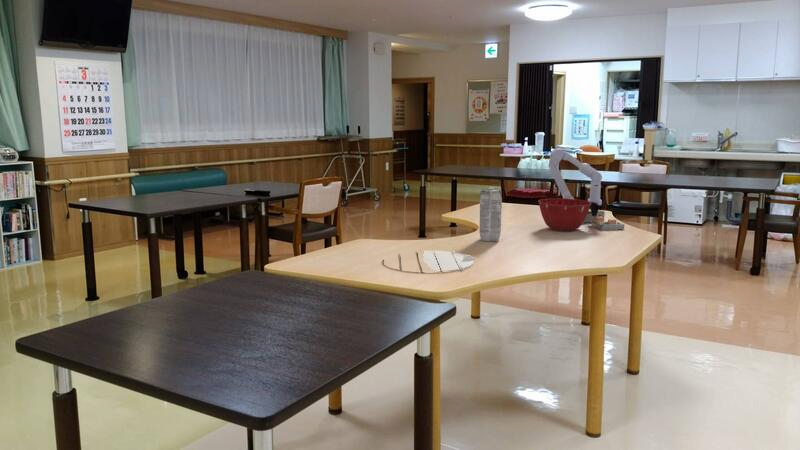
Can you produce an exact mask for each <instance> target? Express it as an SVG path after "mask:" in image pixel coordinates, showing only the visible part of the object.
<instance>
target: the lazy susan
mask: <svg viewBox="0 0 800 450" xmlns="http://www.w3.org/2000/svg"><path fill="white" fill-rule="evenodd" d="M423 251H424V254H423V256H424V258H423V260H424V263H426V264H427V265H428V267H430V268H431V269H434V270H436V271H438V272H439V271H441V270H442V271H456V270H461V271H465V270H468V269H470V268H471V266H472V267H473V266H474V264H475V261H476V259H475V257H473V256H472V255H470V254H464V253H458V252H455V250H452V251H445V250H423ZM434 253H435V255H434ZM435 256H436V257H435ZM436 258H437V260H436ZM423 260H422V261H423ZM455 260H456V261H455ZM437 261H438V262H437ZM456 262H457V263H456ZM438 263H439V265H438ZM457 264H458V265H457ZM439 266H440V267H439ZM458 266H459V267H458ZM440 268H441V270H440ZM459 268H460V269H459ZM467 268H468V269H467ZM464 269H465V270H464ZM434 270H433V271H434ZM456 272H457V271H456Z"/></svg>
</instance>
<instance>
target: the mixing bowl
mask: <svg viewBox="0 0 800 450" xmlns="http://www.w3.org/2000/svg"><path fill="white" fill-rule="evenodd" d="M538 205H539V209H540V213H541V216H542V219H543V221H544V223H545V225H546V226H547V227H548V228H550V229H551V230H553V231H558V232H572V231H576V230H578V229H579V228H580V227H581V226H582V225H583V224H584V223H583V222H584V220H585V218H586V216H587V214H588V211H589V209H590V205H591V202H588V200H583V199H575V198H574V199H563V198H541V199H538Z"/></svg>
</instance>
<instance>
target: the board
mask: <svg viewBox="0 0 800 450" xmlns="http://www.w3.org/2000/svg"><path fill="white" fill-rule="evenodd" d="M596 223H599V224H602V225H608V219H604V221H595V220H592V222H591V226H592V227H595V228H596Z"/></svg>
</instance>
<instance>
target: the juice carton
mask: <svg viewBox="0 0 800 450" xmlns="http://www.w3.org/2000/svg"><path fill="white" fill-rule="evenodd" d="M479 196H480V199H479V237H480V241H482V242H495V243H496V242H499V239H500V237H501V232H502V207H503V206H502V203H503V202H502V201H503V200H502V198H503V197H502V190H501V189H500V188H495V186H488V188H482V189H481V191H480V195H479Z"/></svg>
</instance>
